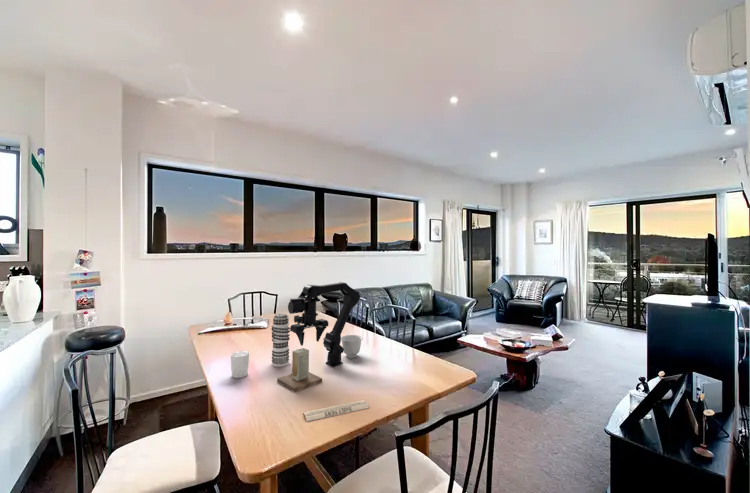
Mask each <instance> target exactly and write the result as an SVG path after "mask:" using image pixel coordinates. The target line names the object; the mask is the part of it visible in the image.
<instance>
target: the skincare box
mask: <svg viewBox="0 0 750 493" xmlns="http://www.w3.org/2000/svg"><path fill="white" fill-rule="evenodd" d="M291 353H292V354H291V355H292V356H291V357H292V359H291V363H292V364H291V365H292V366H291V374H292V379H294V380H296V381H299V380H302V379H305V378H307V377H309V371H310V349H307V348H304V347H303V348H302V347H301V348H299V349H296V350H292V352H291Z"/></svg>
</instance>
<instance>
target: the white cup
mask: <svg viewBox="0 0 750 493" xmlns="http://www.w3.org/2000/svg"><path fill="white" fill-rule="evenodd" d="M249 364H250V352H249V351H248V350H247V351H246V350H239V351H238V350H237V351H234V352H232V353H230V369H231V377H232V378H234V379H240V378H244V377H247V375H248V374H249V373H248V372H249Z"/></svg>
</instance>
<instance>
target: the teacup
mask: <svg viewBox="0 0 750 493" xmlns="http://www.w3.org/2000/svg"><path fill="white" fill-rule="evenodd" d="M362 340H363V337H362V336H360V335H358V334H348V335H343V336H341V344H342V345H341V346H342V347H343V348H344V351H343V353H344V354H345V357H346V358H348V359H353V358H354V357H355V358H357V356H358V354H359V353H360V351H361V347H362V346H361V344H362Z"/></svg>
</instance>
